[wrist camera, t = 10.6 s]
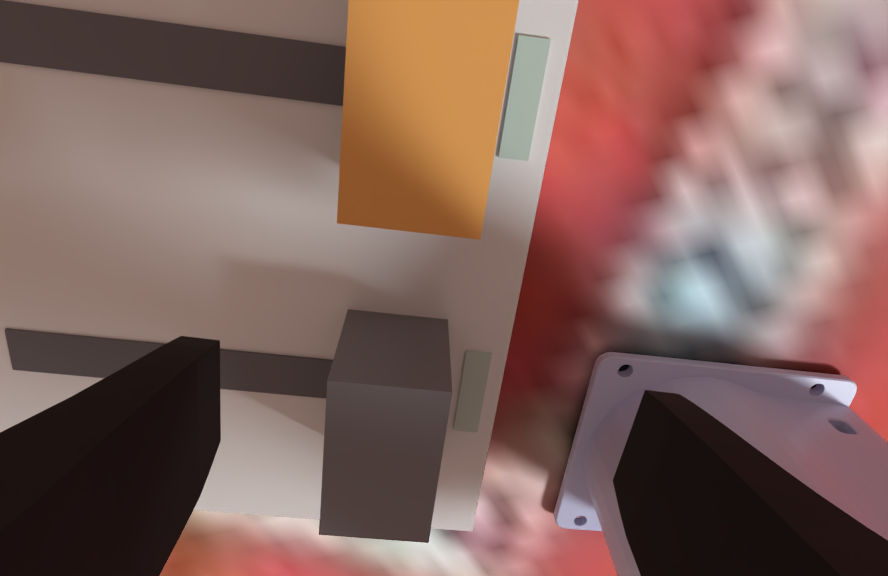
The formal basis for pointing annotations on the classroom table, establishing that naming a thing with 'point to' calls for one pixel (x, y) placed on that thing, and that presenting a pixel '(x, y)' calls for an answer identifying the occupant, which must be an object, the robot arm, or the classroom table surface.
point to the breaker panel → (258, 250)
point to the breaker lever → (422, 112)
